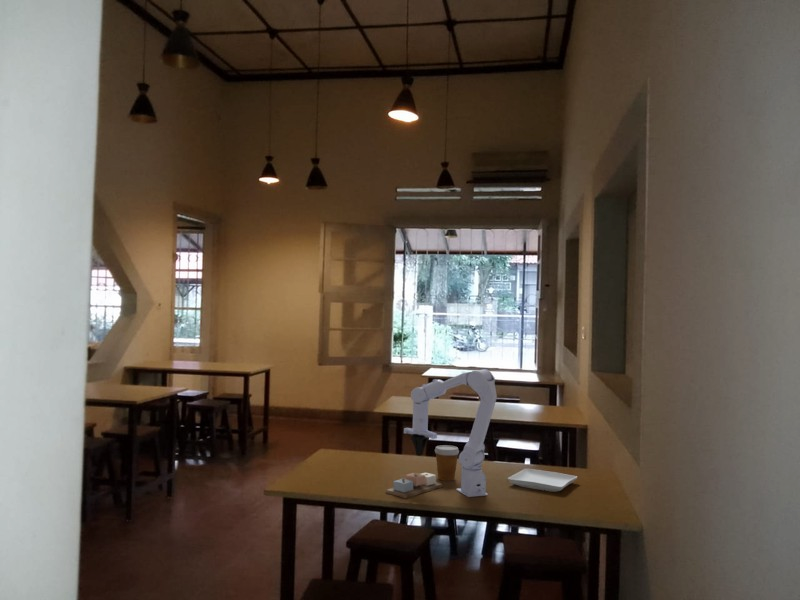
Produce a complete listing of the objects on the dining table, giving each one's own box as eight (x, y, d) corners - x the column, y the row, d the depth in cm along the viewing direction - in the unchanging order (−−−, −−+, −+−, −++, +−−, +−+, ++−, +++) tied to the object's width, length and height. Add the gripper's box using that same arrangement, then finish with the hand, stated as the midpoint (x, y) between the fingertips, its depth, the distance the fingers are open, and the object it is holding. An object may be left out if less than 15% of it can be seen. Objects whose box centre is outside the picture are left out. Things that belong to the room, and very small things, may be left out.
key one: (425, 480, 236) (425, 471, 236) (435, 483, 233) (435, 474, 233) (416, 482, 233) (416, 474, 233) (427, 485, 229) (427, 476, 229)
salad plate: (525, 475, 255) (525, 467, 255) (578, 484, 244) (578, 475, 244) (506, 487, 236) (506, 477, 236) (562, 496, 225) (562, 487, 226)
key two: (414, 480, 231) (414, 472, 232) (424, 483, 228) (425, 474, 228) (405, 483, 228) (405, 474, 228) (416, 486, 224) (416, 477, 224)
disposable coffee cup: (449, 483, 238) (450, 451, 238) (429, 478, 244) (429, 447, 244) (463, 478, 246) (463, 447, 246) (442, 474, 251) (443, 444, 252)
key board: (423, 482, 239) (423, 473, 239) (442, 486, 233) (442, 478, 233) (386, 492, 223) (386, 483, 223) (405, 498, 217) (405, 488, 217)
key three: (402, 486, 226) (402, 478, 227) (413, 489, 223) (413, 480, 223) (393, 489, 223) (393, 480, 223) (404, 492, 219) (404, 483, 220)
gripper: (398, 417, 239) (397, 453, 239) (428, 422, 230) (427, 460, 230) (410, 415, 245) (409, 450, 244) (440, 420, 235) (439, 457, 235)
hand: (419, 455), depth 237 cm, fingers closed
